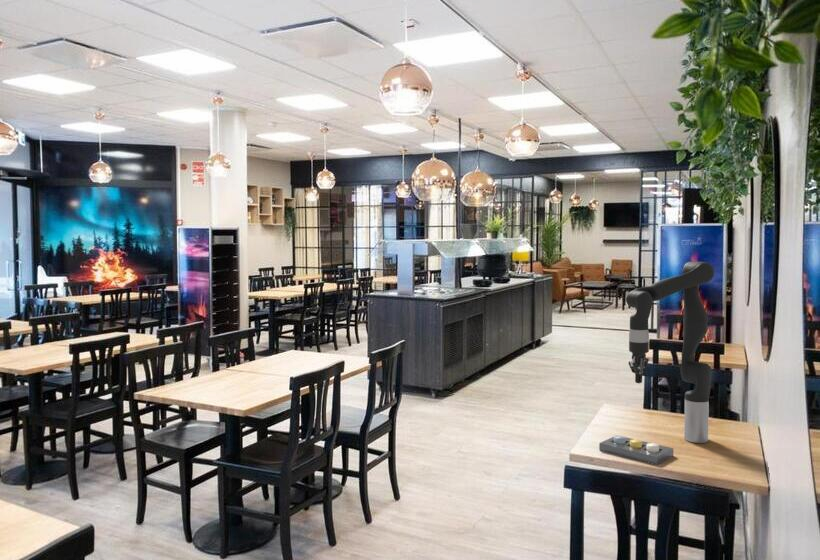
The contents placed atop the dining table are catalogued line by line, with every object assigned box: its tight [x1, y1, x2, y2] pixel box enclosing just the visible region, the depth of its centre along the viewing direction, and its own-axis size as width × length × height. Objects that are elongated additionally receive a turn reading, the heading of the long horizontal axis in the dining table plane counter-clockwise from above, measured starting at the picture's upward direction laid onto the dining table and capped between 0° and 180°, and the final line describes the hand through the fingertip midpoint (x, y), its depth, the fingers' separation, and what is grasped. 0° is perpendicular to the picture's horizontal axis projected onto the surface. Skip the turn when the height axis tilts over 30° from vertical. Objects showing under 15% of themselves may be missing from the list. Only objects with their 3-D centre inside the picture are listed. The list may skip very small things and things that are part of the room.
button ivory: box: [646, 442, 660, 453], centre depth 248 cm, size 5×5×4 cm
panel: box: [598, 435, 674, 466], centre depth 253 cm, size 14×24×3 cm, turn 43°
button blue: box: [613, 435, 626, 445], centre depth 258 cm, size 5×5×4 cm
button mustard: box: [630, 438, 643, 449], centre depth 253 cm, size 5×5×4 cm
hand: (638, 382), depth 257 cm, fingers closed
